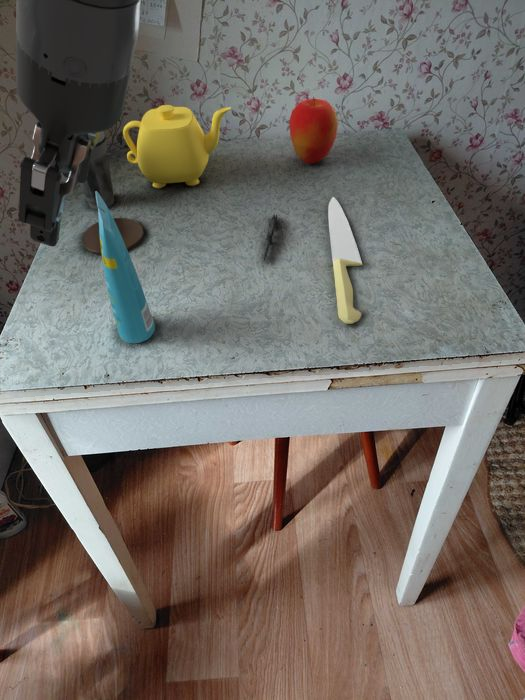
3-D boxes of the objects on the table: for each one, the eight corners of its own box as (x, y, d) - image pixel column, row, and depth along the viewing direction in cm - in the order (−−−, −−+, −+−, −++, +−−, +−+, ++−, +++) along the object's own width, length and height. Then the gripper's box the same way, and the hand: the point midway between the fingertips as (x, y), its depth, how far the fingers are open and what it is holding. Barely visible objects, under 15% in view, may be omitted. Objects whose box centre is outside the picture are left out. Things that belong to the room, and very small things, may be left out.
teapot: (135, 161, 106) (120, 95, 97) (234, 154, 107) (229, 88, 98) (128, 196, 97) (111, 127, 88) (237, 189, 97) (231, 119, 88)
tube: (114, 320, 74) (73, 195, 60) (148, 310, 75) (115, 185, 61) (126, 355, 69) (84, 228, 55) (162, 344, 70) (130, 217, 56)
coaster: (84, 260, 84) (83, 257, 83) (81, 227, 90) (80, 224, 90) (147, 248, 85) (146, 245, 85) (139, 216, 92) (139, 213, 92)
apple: (327, 174, 100) (331, 109, 91) (282, 167, 102) (282, 103, 94) (340, 152, 106) (345, 89, 97) (297, 146, 108) (298, 84, 99)
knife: (351, 195, 93) (325, 192, 93) (374, 322, 70) (340, 318, 70) (349, 202, 94) (323, 199, 94) (372, 329, 71) (338, 325, 71)
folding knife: (266, 267, 81) (266, 257, 79) (259, 267, 81) (259, 256, 79) (278, 220, 89) (277, 210, 88) (271, 220, 90) (271, 209, 88)
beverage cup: (74, 212, 94) (35, 94, 79) (90, 191, 99) (56, 76, 84) (113, 214, 93) (81, 96, 78) (127, 193, 98) (99, 77, 83)
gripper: (55, -29, 39) (44, 145, 52) (-25, 74, 31) (-14, 249, 44) (154, 17, 41) (120, 174, 54) (102, 125, 33) (77, 279, 46)
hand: (60, 208), depth 49 cm, fingers open, 8 cm apart
